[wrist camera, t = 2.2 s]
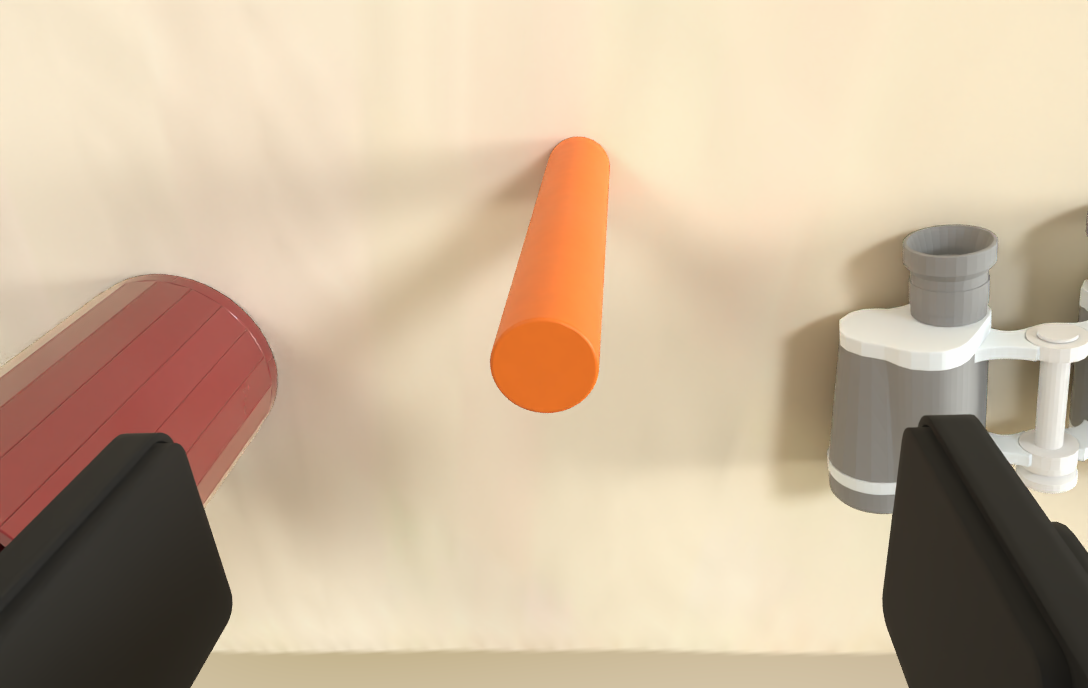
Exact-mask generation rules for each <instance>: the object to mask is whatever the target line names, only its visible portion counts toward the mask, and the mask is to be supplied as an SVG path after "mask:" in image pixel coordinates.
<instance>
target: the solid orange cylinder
mask: <svg viewBox="0 0 1088 688" xmlns="http://www.w3.org/2000/svg"><path fill="white" fill-rule="evenodd" d="M609 171H610V165H609V159H608V156H607V154H606V152H605V151H604V149H603V148H602V147H601V146H600V145H599V144H598V143H597V142H595V141H593V140H591V139H589V138H585V137H572V138H568V139H566V140H564V141H562V142H560V143H559V144H558V145H557V146H556V147H555V148H554V149H553V151H552V152H551V154H550V157H549V160H548V163H547V166H546V170H545V173H544V177H543V180H542V183H541V187H540V190H539V193H538V197H537V200H536V204H535V207H534V210H533V214H532V217H531V220H530V224H529V227H528V231H527V234H526V237H525V241H524V244H523V247H522V251H521V254H520V258H519V261H518V264H517V268H516V271H515V274H514V278H513V281H512V285H511V288H510V291H509V295H508V298H507V301H506V305H505V308H504V312H503V315H502V318H501V322H500V325H499V328H498V332H497V335H496V339H495V342H494V345H493V349H492V353H491V359H490V367H491V372H492V376H493V379H494V381H495V383H496V385H497V387H498V388H499V389H500V391H501V392H502V393H503V394H504V395H505V397H507V398H508V399H509V400H510V401H511V402H513V403H514V404H516V405H518V406H520V407H522V408H524V409H527V410H530V411H534V412H540V413H553V412H559V411H563V410H566V409H569V408H571V407H573V406H575V405H577V404H578V403H580V402H581V401H582V400H583V399H585V398H586V397H587V396H588V394H589V393H590V392H591V390H592V389H593V387H594V385H595V383H596V381H597V378H598V372H599V357H600V339H601V320H602V301H603V283H604V264H605V245H606V227H607V208H608V189H609Z"/></svg>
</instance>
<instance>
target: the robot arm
mask: <svg viewBox="0 0 1088 688" xmlns="http://www.w3.org/2000/svg"><path fill="white" fill-rule="evenodd" d="M882 600H883V613H884V618H885V623H886V626H887V629H888V632H889V634H890V637H891V640H892V643H893V645H894V648H895V651H896V654H897V656H898V659H899V662H900V665H901V667H902V670H903V673H904V675H905V678H906V681H907V684H908V686H909V688H1088V552H1087V551H1086V550H1085V548H1084V547H1083V546H1082V544H1081V543H1080V541H1079V540H1078V539H1077V537H1076V536H1075V535H1074V534H1073V533H1072V531H1071V530H1070V529H1069V528H1068V527H1067V526H1066V525H1063V524H1061V523H1058V522H1051V521H1050V520H1049V519H1048V517H1047V516H1046V514H1045V513H1044V511H1043V510H1042V509H1041V507H1040V506H1039V504H1038V503H1037V501H1036V500H1035V499H1034V497H1033V496H1032V494H1031V493H1030V492H1029V490H1028V489H1027V487H1026V486H1025V484H1024V483H1023V482H1022V480H1021V479H1020V477H1019V476H1018V474H1017V473H1016V472H1015V470H1014V469H1013V467H1012V466H1011V464H1010V463H1009V462H1008V460H1007V459H1006V457H1005V456H1004V454H1003V453H1002V452H1001V450H1000V449H999V447H998V446H997V445H996V443H995V442H994V440H993V439H992V437H991V436H990V435H989V433H988V432H987V430H986V429H985V427H984V426H983V425H982V423H981V422H980V420H979V419H978V418H977V417H976V416H975V415H972V414H958V415H924V416H923V417H921V419H920V421H919V423H918V427H907V428H906V429H905V430H904V432H903V436H902V442H901V450H900V458H899V466H898V475H897V483H896V491H895V499H894V507H893V515H892V523H891V531H890V539H889V547H888V555H887V563H886V571H885V579H884V587H883V598H882ZM231 611H232V594H231V590H230V587H229V584H228V581H227V578H226V575H225V572H224V569H223V566H222V562H221V559H220V556H219V553H218V550H217V547H216V544H215V541H214V538H213V535H212V532H211V528H210V525H209V522H208V519H207V516H206V513H205V510H204V507H203V504H202V501H201V498H200V494H199V491H198V488H197V485H196V482H195V479H194V476H193V473H192V470H191V467H190V464H189V460H188V457H187V454H186V452H185V450H184V448H183V447H182V446H181V444H178V443H174V442H173V440H172V439H171V437H170V436H169V435H168V434H165V433H125V434H120V435H118V436H117V437H115V438H114V439H113V440H112V441H111V442H110V443H109V444H108V445H107V446H106V447H105V448H104V449H103V450H102V451H101V452H100V453H99V454H98V455H97V456H96V457H95V458H94V459H93V460H92V461H91V462H90V463H89V464H88V465H87V466H86V467H85V468H84V469H83V470H82V471H81V472H80V473H79V474H78V475H77V476H76V477H75V478H74V479H73V480H72V481H71V482H70V483H69V484H68V485H67V486H66V487H65V488H64V489H63V490H62V491H61V492H60V493H59V494H58V495H57V496H56V497H55V498H54V499H53V500H52V501H51V502H50V503H49V504H48V505H47V506H46V507H45V508H44V509H43V510H42V511H41V512H40V513H39V514H38V515H37V516H36V517H35V518H34V519H33V520H32V521H31V522H30V523H29V524H28V525H27V526H26V527H25V528H24V529H23V530H22V531H21V532H20V533H19V534H18V535H17V536H16V537H15V538H14V539H13V540H12V541H11V542H10V543H9V544H8V545H7V546H6V547H5V548H4V549H3V550H2V551H1V552H0V688H190V687H191V686H192V684H193V682H194V680H195V679H196V677H197V675H198V674H199V672H200V670H201V668H202V667H203V664H204V663H205V661H206V660H207V658H208V656H209V654H210V653H211V651H212V649H213V647H214V646H215V644H216V642H217V640H218V639H219V637H220V635H221V633H222V632H223V630H224V628H225V626H226V625H227V623H228V621H229V618H230V615H231Z"/></svg>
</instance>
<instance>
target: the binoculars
mask: <svg viewBox="0 0 1088 688" xmlns="http://www.w3.org/2000/svg"><path fill="white" fill-rule="evenodd" d="M1086 235H1087V236H1088V213H1087V221H1086ZM997 252H998V237H997V236H996V235H995V234H994V233H993V232H991V231H989V230H987V229H984V228H981V227H976V226H970V225H940V226H933V227H928V228H924V229H920V230H918V231H915V232H913V233H911V234H909V235H908V236H907V237H906V238H905V239H904V241H903V264H904V265H905V266H906V268H907V269H908V270H909V271H910V277H909V303H910V304H907V305H904V306H900V307H895V308H890V309H878V308H873V309H862V310H858V311H853V312H850V313H849V314H847V315H846V316H844V317H843V318H842V319H840V320H839V328H840V339H839V350H838V361H837V372H836V382H835V393H834V404H833V415H832V425H831V436H830V446H829V448H828V451H827V461H828V469H829V481H830V487H831V490H832V491H833V493H834V494H835V496H836V497H837V498H838V499H840V500H841V501H842V502H844V503H845V504H847V505H848V506H850V507H853V508H855V509H858V510H861V511H864V512H869V513H876V514H892V513H893V507H894V499H895V491H896V483H897V475H898V466H899V458H900V450H901V442H902V436H903V432H904V430H905V429H906V428H907V427H918V423H919V421H920V419H921V417H923V416H924V415H958V414H972V415H975V416H976V417H977V418H978V419H979V420H980V422H981V423H982V425H983V426H984V427H985V428H986V405H987V382H988V360H993V359H1020V360H1030V361H1034V362H1035V361H1037V360H1040V372H1039V385H1038V399H1037V412H1036V426H1035V429H1032V430H1028V431H1023V432H1020V433H1016V434H1011V435H999V434H994V433H991V432H988V431H987V432H988V433H989V435H990V436H991V437H992V439H993V440H994V442H995V443H996V445H997V446H998V447H999V449H1000V450H1001V452H1002V453H1003V454H1004V456H1005V457H1006V459H1007V460H1008V462H1009V463H1010V464H1015V465H1016V473H1017V474H1018V476H1019V477H1020V479H1021V480H1022V482H1023V483H1024V484H1025V486H1026V487H1027V488H1029V489H1032V490H1034V491H1038V492H1043V493H1062V492H1066V491H1069V490H1071V489H1072V488H1074V486H1075V485H1076V483H1077V479H1078V471H1077V468H1076V467H1077V462H1078V461H1085V460H1086V459H1087V458H1088V279H1087V280H1084V282H1083V285H1082V287H1081V292H1080V302H1079V305H1080V309H1079V320H1078V322H1077V323H1044V324H1039V325H1036V326H1033V327H1029V328H1025V329H1022V330H1016V331H1002V330H996V329H992V328H991V319H992V310H991V309H990V307H989V306H988V303H989V292H990V275H989V269H990V268H991V267H992V266H993V265H994V264H995V263H996V261H997ZM1072 362H1074V373H1073V383H1072V394H1071V404H1070V415H1069V427H1068V428H1065V420H1066V410H1067V399H1068V388H1069V377H1070V367H1071V363H1072Z"/></svg>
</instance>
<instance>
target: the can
mask: <svg viewBox="0 0 1088 688" xmlns="http://www.w3.org/2000/svg"><path fill="white" fill-rule="evenodd" d="M276 392H277V370H276V365H275V360H274V357H273V354H272V351H271V349H270V347H269V345H268V343H267V341H266V339H265V337H264V335H263V334H262V332H261V331H260V329H259V328H258V326H257V325H256V324H255V323H254V321H253V320H252V319H251V318H250V317H249V316H248V315H247V314H246V313H245V312H244V311H243V310H242V309H241V308H240V307H239V306H238V305H237V304H235V303H234V302H233V301H232V300H230V299H229V298H228V297H226V296H224V295H223V294H221V293H220V292H218V291H216V290H215V289H213V288H211V287H209V286H207V285H205V284H202V283H199V282H197V281H194V280H191V279H187V278H183V277H179V276H173V275H166V274H150V275H141V276H136V277H133V278H129V279H126V280H124V281H121V282H119V283H117V284H115V285H114V286H112V287H111V288H109V289H108V290H106V291H104V292H102V293H100V294H99V295H98V296H96V297H95V298H93V299H92V300H91V301H89V302H88V303H87V304H85V305H84V306H83V307H81V308H80V309H79V310H77V311H76V312H75V313H73V314H72V315H71V316H69V317H68V318H66V319H65V320H64V321H62V322H61V323H60V324H58V325H57V326H56V327H54V328H53V329H52V330H50V331H49V332H48V333H46V334H45V335H44V336H42V337H41V338H39V339H38V340H37V341H35V342H34V343H33V344H31V345H30V346H29V347H27V348H26V349H25V350H23V351H22V352H21V353H19V354H18V355H16V356H15V357H14V358H12V359H11V360H10V361H8V362H7V363H6V364H4V365H3V366H2V367H0V552H1V551H2V550H3V549H4V548H5V547H6V546H7V545H8V544H9V543H10V542H11V541H12V540H13V539H14V538H15V537H16V536H17V535H18V534H19V533H20V532H21V531H22V530H23V529H24V528H25V527H26V526H27V525H28V524H29V523H30V522H31V521H32V520H33V519H34V518H35V517H36V516H37V515H38V514H39V513H40V512H41V511H42V510H43V509H44V508H45V507H46V506H47V505H48V504H49V503H50V502H51V501H52V500H53V499H54V498H55V497H56V496H57V495H58V494H59V493H60V492H61V491H62V490H63V489H64V488H65V487H66V486H67V485H68V484H69V483H70V482H71V481H72V480H73V479H74V478H75V477H76V476H77V475H78V474H79V473H80V472H81V471H82V470H83V469H84V468H85V467H86V466H87V465H88V464H89V463H90V462H91V461H92V460H93V459H94V458H95V457H96V456H97V455H98V454H99V453H100V452H101V451H102V450H103V449H104V448H105V447H106V446H107V445H108V444H109V443H110V442H111V441H112V440H113V439H114V438H115V437H117V436H118V435H120V434H125V433H165V434H168V435H169V436H170V437H171V439H172V440H173V442H174V443H178V444H181V446H182V447H183V448H184V450H185V452H186V454H187V457H188V460H189V464H190V467H191V470H192V473H193V476H194V479H195V482H196V485H197V488H198V491H199V494H200V498H201V501H202V504H203V507H204V509H205V507H206V506H207V504H208V503H209V501H210V500H211V499H212V497H213V496H214V494H215V493H216V491H217V490H218V489H219V487H220V486H221V484H222V483H223V481H224V480H225V478H226V477H227V476H228V474H229V473H230V471H231V470H232V468H233V467H234V466H235V464H236V463H237V461H238V460H239V458H240V457H241V455H242V454H243V453H244V451H245V450H246V448H247V447H248V445H249V444H250V443H251V441H252V440H253V438H254V437H255V435H256V434H257V432H258V431H259V429H260V427H261V425H262V424H263V422H264V420H265V419H266V418H267V416H268V415H269V413H270V411H271V409H272V407H273V405H274V401H275V397H276Z"/></svg>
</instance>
